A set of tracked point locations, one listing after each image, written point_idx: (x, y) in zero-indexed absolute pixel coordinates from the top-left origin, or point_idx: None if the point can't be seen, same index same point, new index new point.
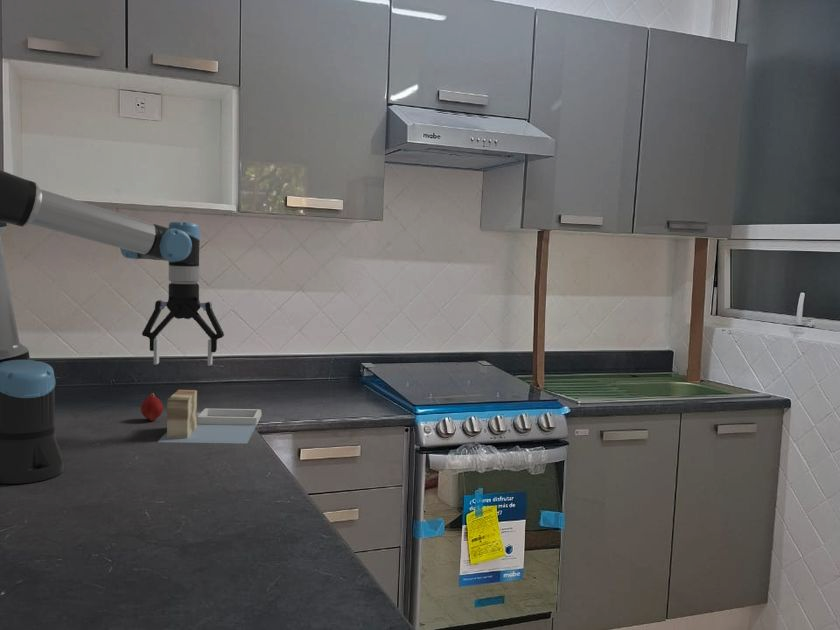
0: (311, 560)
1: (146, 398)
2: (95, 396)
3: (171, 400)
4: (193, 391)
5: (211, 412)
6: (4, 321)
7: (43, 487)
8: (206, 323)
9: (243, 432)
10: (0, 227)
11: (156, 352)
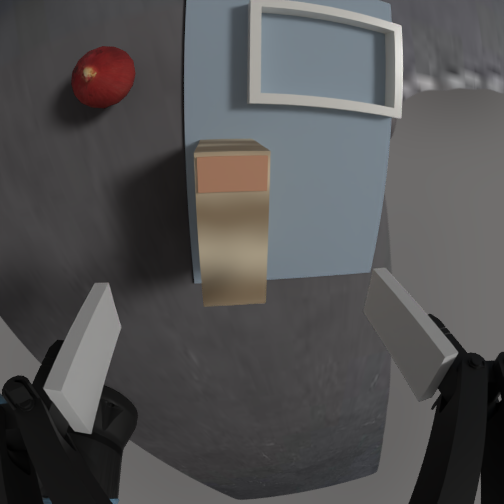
0: (361, 462)
1: (76, 82)
2: None
3: (215, 303)
4: (262, 183)
5: (271, 10)
6: None
7: (147, 432)
8: (482, 456)
9: (367, 187)
10: None
11: (106, 370)
